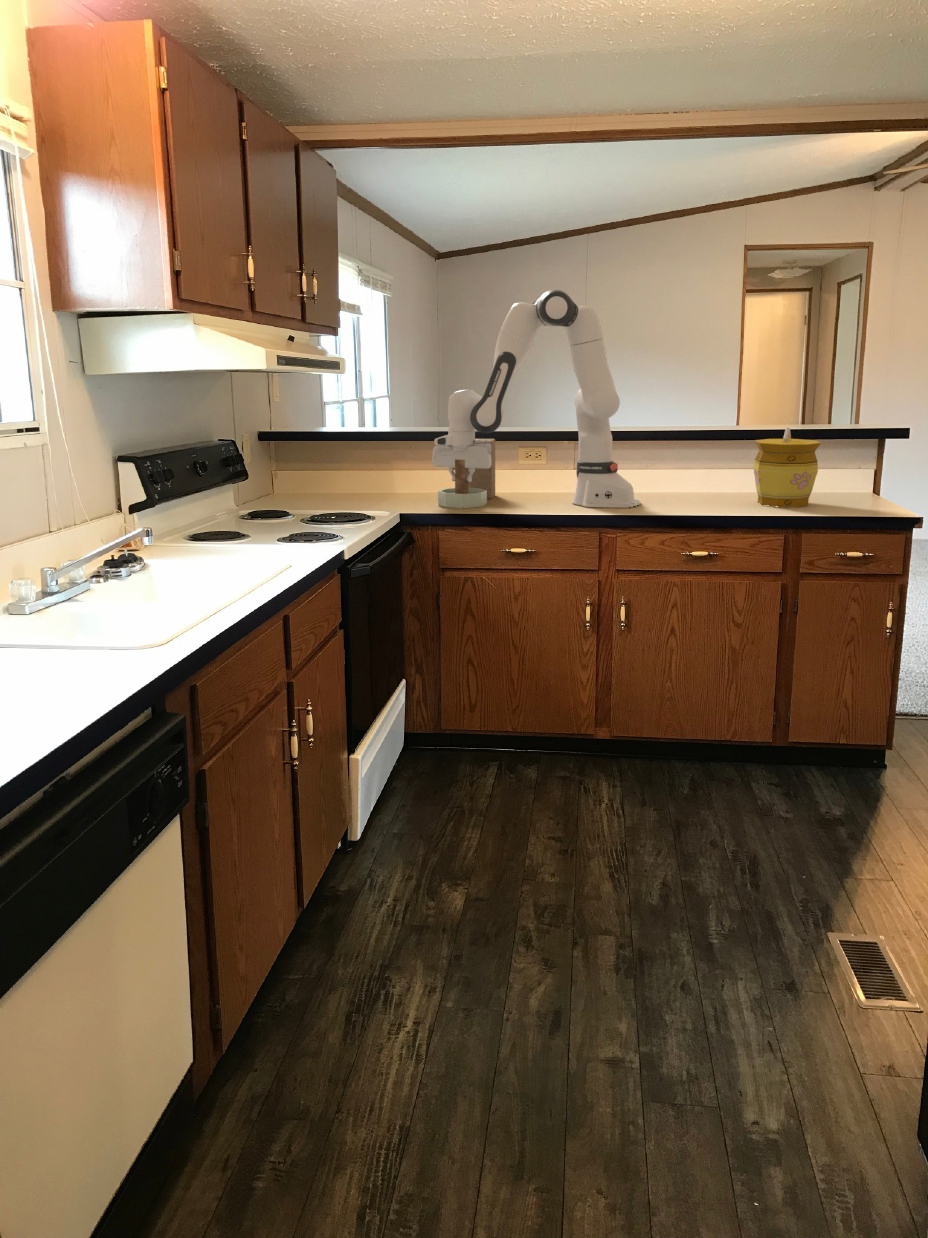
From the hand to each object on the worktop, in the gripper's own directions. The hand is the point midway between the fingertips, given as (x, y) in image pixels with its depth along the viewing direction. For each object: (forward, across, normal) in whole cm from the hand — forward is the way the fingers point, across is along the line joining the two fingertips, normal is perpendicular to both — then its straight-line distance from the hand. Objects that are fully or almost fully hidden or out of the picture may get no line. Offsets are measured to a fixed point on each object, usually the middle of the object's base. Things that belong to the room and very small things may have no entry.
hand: (461, 481), depth 332 cm
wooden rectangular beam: (+5, 0, 0) cm, 5 cm away
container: (+7, -102, -30) cm, 107 cm away
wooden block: (+8, 0, -18) cm, 20 cm away
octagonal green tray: (+8, 0, 0) cm, 8 cm away
